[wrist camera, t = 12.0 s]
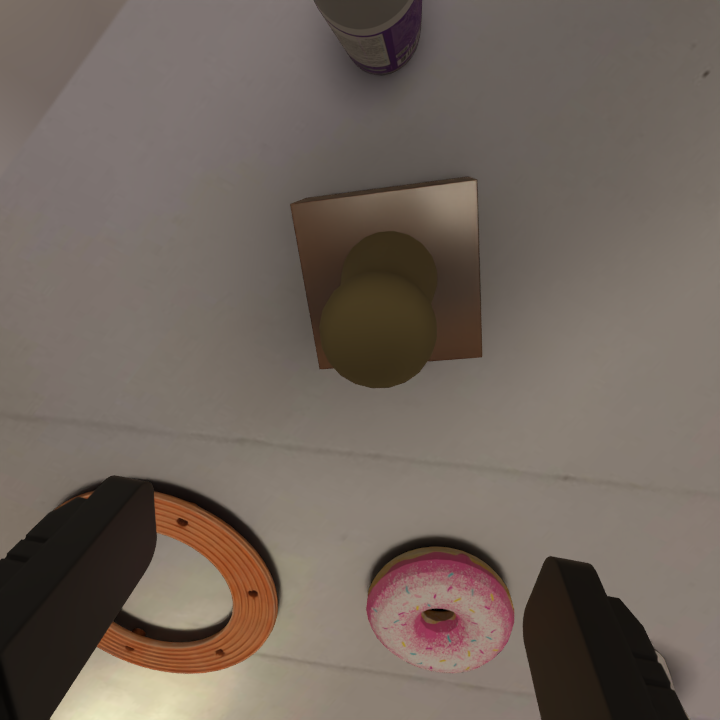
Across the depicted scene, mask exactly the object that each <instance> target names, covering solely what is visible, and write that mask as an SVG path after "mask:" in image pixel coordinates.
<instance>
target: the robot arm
mask: <svg viewBox="0 0 720 720" xmlns="http://www.w3.org/2000/svg"><path fill="white" fill-rule="evenodd" d="M156 541H157V532H156V517H155V502H154V489H153V485H152V484H151V483H150V482H147V481H142V480H136V479H131V478H125V477H120V476H110V477H109V478H107V479H106V480H105V481H104V482H103V483H102V484H101V485H100V486H99V487H98V488H97V489H96V490H95V491H94V492H93V493H92V494H91V495H90V496H89V497H88V498H82V497H76V498H74V499H73V500H71V501H69V502H67V503H66V504H64V505H62V506H60V507H59V508H57V509H55V510H53V511H52V512H50V513H48V514H47V515H46V516H45V517H44V518H43V519H42V520H41V521H40V522H39V523H38V524H37V525H36V526H35V527H34V528H33V529H32V530H31V531H30V532H29V533H28V534H27V535H26V538H25V539H24V540H21V541H20V542H18V543H17V544H16V545H15V546H14V547H13V548H12V549H11V550H10V551H9V552H8V553H7V556H6V558H5V559H1V560H0V720H49V719H50V717H51V716H52V714H53V713H54V711H55V710H56V708H57V707H58V705H59V704H60V702H61V701H62V699H63V698H64V696H65V694H66V693H67V691H68V690H69V688H70V687H71V685H72V684H73V682H74V681H75V679H76V678H77V676H78V674H79V673H80V671H81V670H82V668H83V667H84V665H85V664H86V662H87V661H88V659H89V658H90V656H91V654H92V653H93V651H94V650H95V648H96V647H97V645H98V644H99V642H100V641H101V639H102V638H103V636H104V634H105V633H106V631H107V630H108V628H109V627H110V625H111V624H112V622H113V621H114V619H115V618H116V616H117V614H118V613H119V611H120V610H121V608H122V607H123V605H124V604H125V602H126V601H127V599H128V598H129V596H130V595H131V593H132V591H133V590H134V588H135V587H136V585H137V584H138V582H139V581H140V579H141V578H142V576H143V575H144V573H145V571H146V570H147V568H148V566H149V564H150V562H151V560H152V557H153V554H154V551H155V547H156ZM523 638H524V644H525V649H526V653H527V658H528V662H529V667H530V671H531V675H532V680H533V684H534V689H535V693H536V698H537V702H538V706H539V711H540V715H541V720H689V719H688V717H687V715H686V713H685V711H684V709H683V707H682V705H681V703H680V701H679V699H678V697H677V695H676V693H675V691H674V690H672V689H671V687H670V684H671V683H670V680H669V678H668V676H667V674H666V672H665V670H664V668H663V666H662V664H661V663H659V662H658V656H657V654H656V652H655V650H654V648H653V646H652V644H651V641H650V639H649V637H648V635H647V633H646V631H645V629H644V627H643V625H642V624H641V623H640V622H639V621H638V620H637V618H636V617H635V616H634V615H633V614H632V613H631V611H630V610H629V609H628V608H627V607H626V606H625V604H624V603H623V602H622V601H621V600H620V599H619V598H615V597H609V596H607V595H606V593H605V590H604V588H603V586H602V583H601V581H600V579H599V577H598V574H597V572H596V570H595V569H594V567H593V566H592V565H591V564H589V563H585V562H579V561H574V560H568V559H563V558H557V557H552V556H550V557H548V558H546V560H545V561H544V563H543V566H542V568H541V571H540V573H539V576H538V578H537V581H536V583H535V586H534V588H533V590H532V593H531V595H530V598H529V600H528V603H527V605H526V608H525V612H524V617H523Z"/></svg>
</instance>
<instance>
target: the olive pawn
mask: <svg viewBox="0 0 720 720" xmlns="http://www.w3.org/2000/svg"><path fill="white" fill-rule="evenodd" d="M436 287H437V269H436V266H435V263H434V260H433V258H432V255H431V254H430V253H429V251H428V250H427V249H426V248H425V246H424V245H423V244H422V243H421V242H419V241H418V240H416V239H415V238H413V237H412V236H410V235H408V234H404V233H400V232H396V231H386V232H377V233H375V234H372V235H370V236H367V237H365V238H363V239H362V240H361V241H360V242H358V243H357V244H356V245H355V246H354V247H353V248H352V249H351V251H350V252H349V254H348V256H347V257H346V259H345V261H344V265H343V270H342V274H341V284H340V286H339V287H338V288H337V289H336V290H334V292H333V293H332V295H331V296H330V298H329V300H328V301H327V303H326V305H325V306H324V308H323V310H322V315H321V320H320V325H319V329H320V337H321V345H322V349H323V351H324V353H325V355H326V357H327V359H328V362H329V363H330V364H331V365H332V366H333V368H334V369H335V370H336V371H337V372H338V373H339V374H340V375H341V376H343V377H345V378H346V379H348V380H350V381H351V382H353V383H355V384H358V385H362V386H366V387H370V388H389V387H393V386H396V385H399V384H402V383H405V382H406V381H408V380H409V379H411V378H412V377H414V376H415V375H416V374H418V373H419V372H420V371H421V369H422V368H423V367H424V365H425V364H426V363H427V361H428V360H429V359H430V357H431V356H432V353H433V349H434V346H435V343H436V340H437V321H436V316H435V313H434V311H433V308H432V305H431V303H432V300H433V297H434V294H435V291H436Z"/></svg>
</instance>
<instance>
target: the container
mask: <svg viewBox="0 0 720 720" xmlns="http://www.w3.org/2000/svg"><path fill="white" fill-rule="evenodd" d="M314 2H315V4H316V6H317V8H318V9H319V11H320V12H321V14H322V15H323V17H324V18H325V20H326V21H327V23H328V24H329V26H330V27H331V29H332V30H333V32H334V33H335V35H336V36H337V38H338V40H339V41H340V43H341V44H342V46H343V47H344V49H345V50H346V52H347V53H348V55H349V56H350V58H351V59H352V60H353V61H354V63H355V64H356V65H357V66H358V67H360V68H361V69H363V70H364V71H366V72H368V73H371V74H377V75H384V74H389V73H392V72H394V71H397V70H398V69H400V68H401V67H402V66H404V65H405V64H406V63H407V62H408V61H409V59H410V58H411V57H412V55H413V53H414V51H415V49H416V47H417V45H418V41H419V37H420V31H421V14H422V0H314Z"/></svg>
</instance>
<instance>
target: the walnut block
mask: <svg viewBox="0 0 720 720" xmlns="http://www.w3.org/2000/svg"><path fill="white" fill-rule="evenodd" d="M290 206H291V211H292V217H293V223H294V228H295V234H296V239H297V245H298V251H299V256H300V262H301V267H302V273H303V279H304V284H305V290H306V295H307V301H308V307H309V312H310V318H311V323H312V329H313V335H314V340H315V346H316V351H317V357H318V363H319V368H320V369H331V368H333V366H332V365H331V364H330V363H329V362H328V359H327V357H326V355H325V353H324V351H323V349H322V345H321V337H320V329H319V325H320V320H321V315H322V310H323V308H324V306H325V305H326V303H327V301H328V300H329V298H330V296H331V295H332V293H333V292H334V290H336V289H337V288H338V287H339V286H340V284H341V274H342V270H343V265H344V261H345V259H346V257H347V256H348V254H349V252H350V251H351V249H352V248H353V247H354V246H355V245H356V244H357V243H358V242H360V241H361V240H362V239H363V238H365V237H367V236H370V235H372V234H375V233H377V232H386V231H396V232H400V233H404V234H408V235H410V236H412V237H413V238H415V239H416V240H418V241H419V242H421V243H422V244H423V245H424V246H425V248H426V249H427V250H428V251H429V253H430V254H431V255H432V258H433V260H434V263H435V266H436V269H437V287H436V291H435V294H434V297H433V300H432V303H431V305H432V308H433V311H434V313H435V316H436V321H437V340H436V343H435V346H434V349H433V353H432V356H431V357H430V359H429V360H428V361H438V360H452V359H465V358H479V357H482V328H481V293H480V258H479V224H478V189H477V179H474V178H471V177H460V178H453V179H445V180H438V181H430V182H423V183H415V184H407V185H400V186H392V187H385V188H377V189H370V190H362V191H354V192H347V193H339V194H332V195H324V196H317V197H309V198H305V199H302V200H299V201H297V202H294V203H291V204H290Z"/></svg>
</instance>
